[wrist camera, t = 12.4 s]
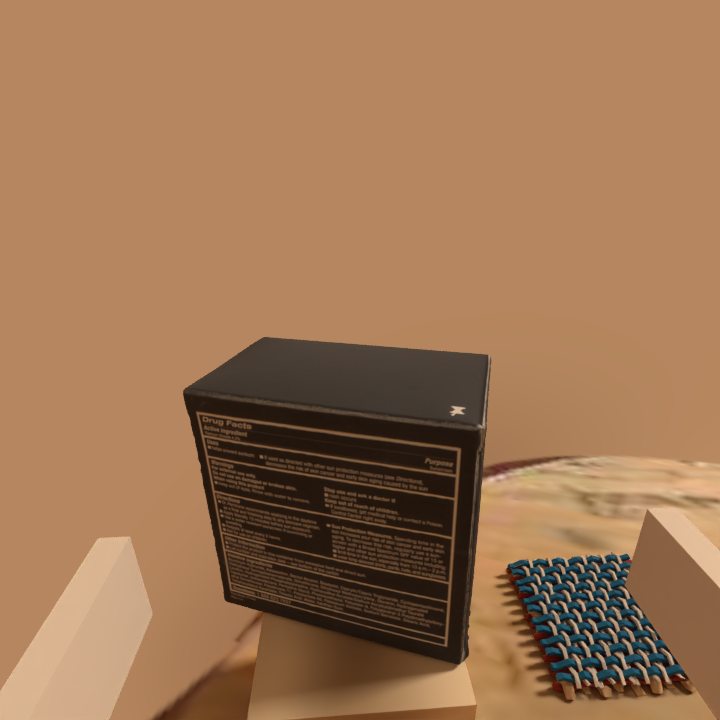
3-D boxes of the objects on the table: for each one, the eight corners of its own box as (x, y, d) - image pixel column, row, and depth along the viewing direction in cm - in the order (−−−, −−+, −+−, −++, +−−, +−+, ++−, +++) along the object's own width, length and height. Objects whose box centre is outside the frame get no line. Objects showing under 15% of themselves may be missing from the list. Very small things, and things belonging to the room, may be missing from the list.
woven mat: (720, 697, 29) (730, 677, 28) (557, 709, 28) (561, 689, 27) (624, 564, 38) (629, 546, 37) (501, 571, 38) (504, 553, 37)
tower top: (414, 568, 29) (417, 482, 27) (463, 808, 18) (476, 704, 16) (292, 576, 29) (282, 490, 26) (268, 825, 18) (246, 722, 15)
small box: (476, 542, 22) (497, 347, 18) (466, 673, 17) (493, 433, 12) (283, 504, 25) (263, 328, 21) (219, 604, 20) (172, 390, 15)
